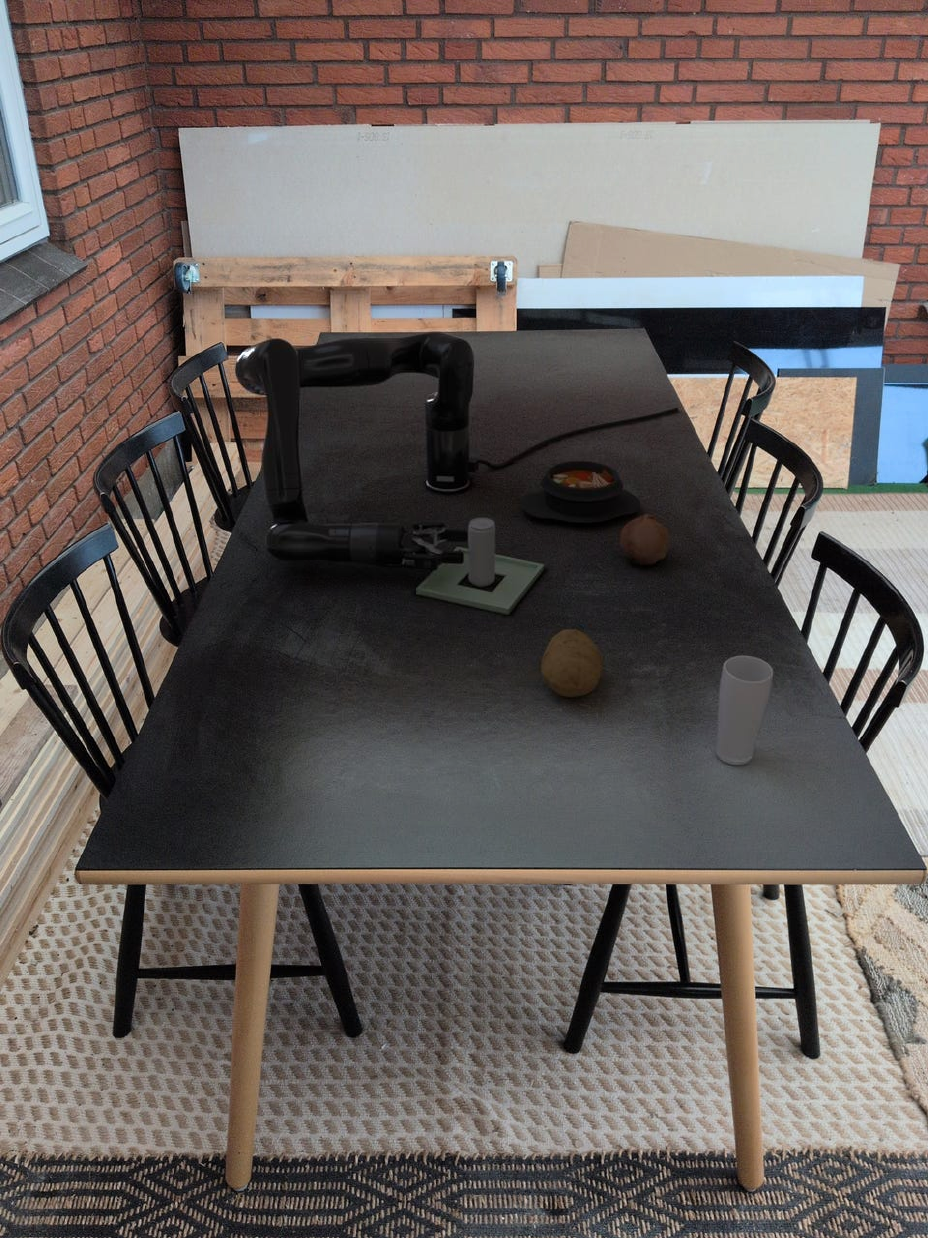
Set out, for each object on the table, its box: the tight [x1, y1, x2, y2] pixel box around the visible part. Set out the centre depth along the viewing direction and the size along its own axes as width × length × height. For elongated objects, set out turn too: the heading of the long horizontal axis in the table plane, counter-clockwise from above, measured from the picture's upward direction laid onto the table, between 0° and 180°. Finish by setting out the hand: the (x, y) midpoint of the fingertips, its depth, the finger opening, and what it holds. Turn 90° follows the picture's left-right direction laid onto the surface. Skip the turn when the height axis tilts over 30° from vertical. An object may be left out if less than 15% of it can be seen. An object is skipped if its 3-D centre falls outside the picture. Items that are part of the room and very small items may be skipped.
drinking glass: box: [714, 655, 774, 766], centre depth 144 cm, size 7×7×15 cm
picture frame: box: [415, 546, 545, 616], centre depth 191 cm, size 18×18×1 cm
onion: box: [619, 513, 671, 567], centre depth 196 cm, size 10×9×10 cm
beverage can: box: [467, 517, 496, 588], centre depth 188 cm, size 5×5×12 cm
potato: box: [540, 628, 604, 698], centre depth 160 cm, size 10×14×8 cm
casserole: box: [520, 460, 641, 524], centre depth 215 cm, size 25×19×8 cm
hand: (465, 546), depth 188 cm, fingers open, 8 cm apart
